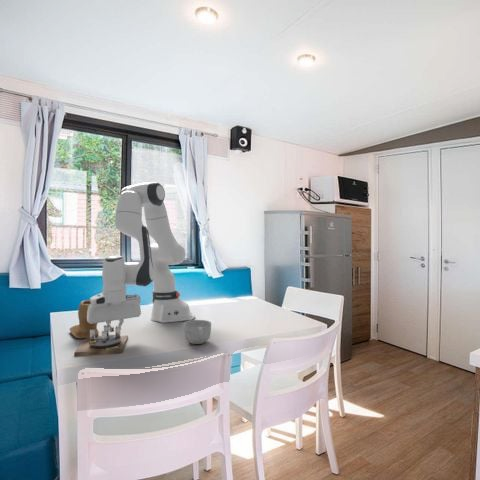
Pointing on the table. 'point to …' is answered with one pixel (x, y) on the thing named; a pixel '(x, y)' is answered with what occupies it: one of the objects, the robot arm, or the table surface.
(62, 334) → the table surface
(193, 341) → the teacup
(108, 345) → the grey pegged disc
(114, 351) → the stand board
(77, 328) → the tan boot
